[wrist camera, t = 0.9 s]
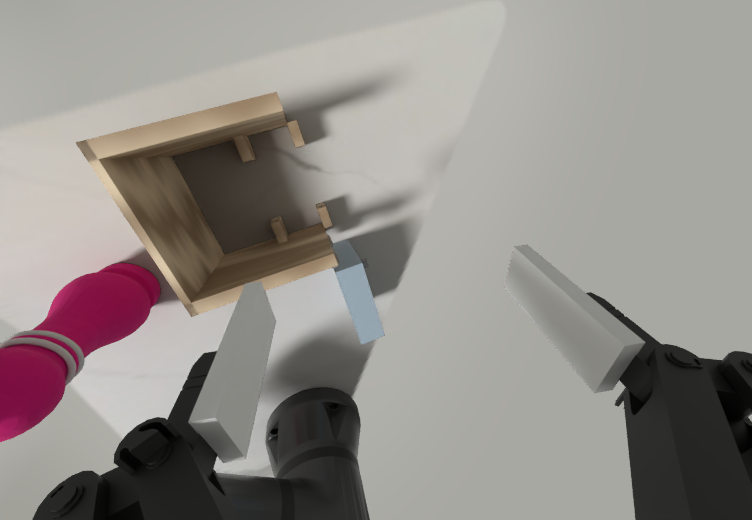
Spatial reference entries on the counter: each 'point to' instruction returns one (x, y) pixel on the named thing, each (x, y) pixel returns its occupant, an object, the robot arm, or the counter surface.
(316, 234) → the cabinet
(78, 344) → the pepper mill
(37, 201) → the counter surface
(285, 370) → the counter surface
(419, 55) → the counter surface
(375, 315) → the door
